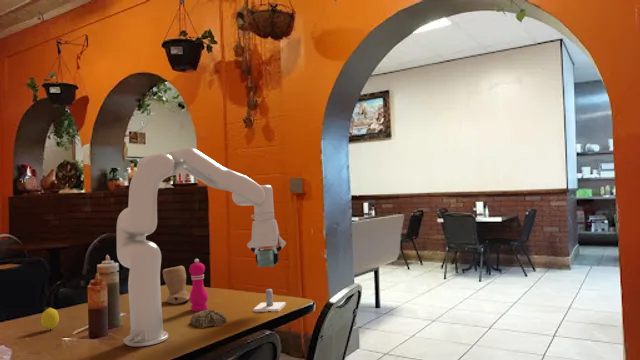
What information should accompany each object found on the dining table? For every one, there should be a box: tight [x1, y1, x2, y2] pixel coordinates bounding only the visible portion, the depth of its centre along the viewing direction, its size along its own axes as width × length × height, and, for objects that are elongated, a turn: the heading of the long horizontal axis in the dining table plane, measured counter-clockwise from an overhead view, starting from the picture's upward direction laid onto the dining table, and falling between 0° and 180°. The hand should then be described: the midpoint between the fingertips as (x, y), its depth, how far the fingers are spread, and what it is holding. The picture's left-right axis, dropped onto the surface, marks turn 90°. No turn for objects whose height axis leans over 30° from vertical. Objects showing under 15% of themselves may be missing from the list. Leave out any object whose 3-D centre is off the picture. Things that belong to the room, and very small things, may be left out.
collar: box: [257, 248, 277, 268], centre depth 182 cm, size 6×6×6 cm
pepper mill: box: [188, 258, 209, 312], centre depth 187 cm, size 7×7×20 cm
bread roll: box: [189, 309, 228, 329], centre depth 166 cm, size 13×12×5 cm
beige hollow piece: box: [162, 265, 191, 305], centre depth 204 cm, size 15×12×15 cm
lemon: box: [40, 307, 60, 330], centre depth 169 cm, size 6×6×8 cm
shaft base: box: [252, 288, 287, 313], centre depth 181 cm, size 10×10×7 cm
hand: (267, 263), depth 182 cm, fingers closed on collar, 6 cm apart
